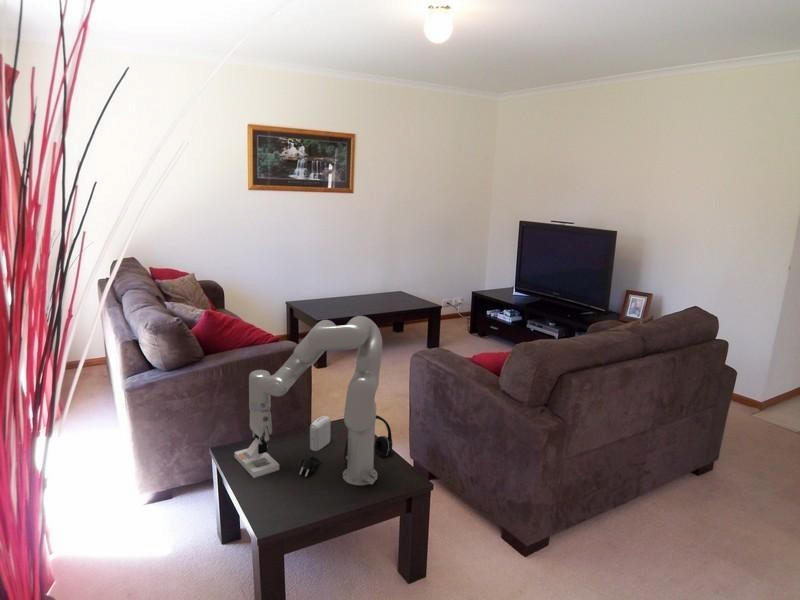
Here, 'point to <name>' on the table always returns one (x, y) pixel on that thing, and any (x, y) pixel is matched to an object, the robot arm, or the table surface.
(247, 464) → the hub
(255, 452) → the plug
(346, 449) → the headphones
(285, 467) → the table surface
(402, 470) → the table surface
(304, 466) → the power plug
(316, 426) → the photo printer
